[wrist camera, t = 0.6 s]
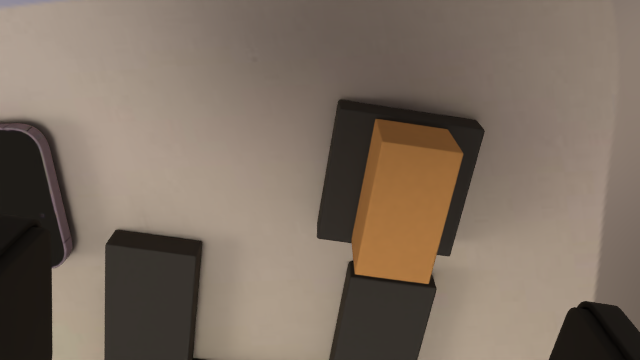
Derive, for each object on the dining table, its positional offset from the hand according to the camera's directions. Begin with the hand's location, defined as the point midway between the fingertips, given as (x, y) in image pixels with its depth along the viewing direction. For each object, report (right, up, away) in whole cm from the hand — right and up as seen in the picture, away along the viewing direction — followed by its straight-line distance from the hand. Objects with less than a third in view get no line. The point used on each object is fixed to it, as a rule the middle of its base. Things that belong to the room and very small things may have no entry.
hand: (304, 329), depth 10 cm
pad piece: (+4, +3, +17) cm, 18 cm away
